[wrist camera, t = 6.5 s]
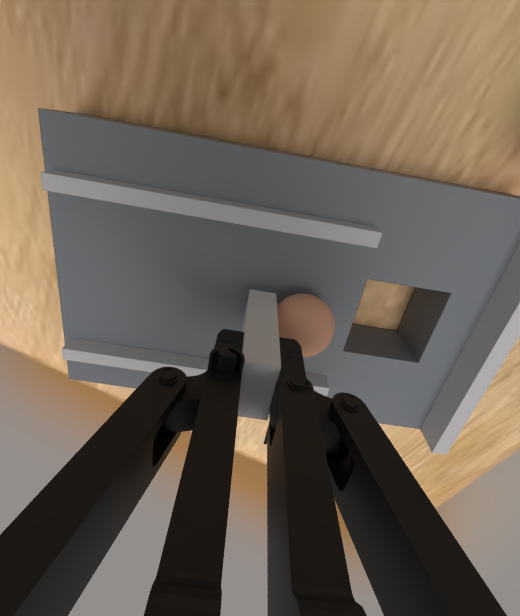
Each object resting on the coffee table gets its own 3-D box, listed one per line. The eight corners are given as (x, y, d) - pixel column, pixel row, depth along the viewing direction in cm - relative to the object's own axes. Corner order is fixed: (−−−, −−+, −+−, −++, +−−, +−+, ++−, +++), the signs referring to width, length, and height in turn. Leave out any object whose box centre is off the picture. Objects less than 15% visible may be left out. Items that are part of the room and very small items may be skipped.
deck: (80, 113, 19) (8, 104, 14) (512, 194, 21) (598, 215, 15) (95, 346, 26) (52, 399, 21) (414, 393, 28) (449, 454, 22)
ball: (344, 293, 19) (284, 278, 20) (340, 319, 16) (270, 299, 16) (328, 345, 20) (273, 329, 21) (322, 378, 17) (258, 358, 18)
